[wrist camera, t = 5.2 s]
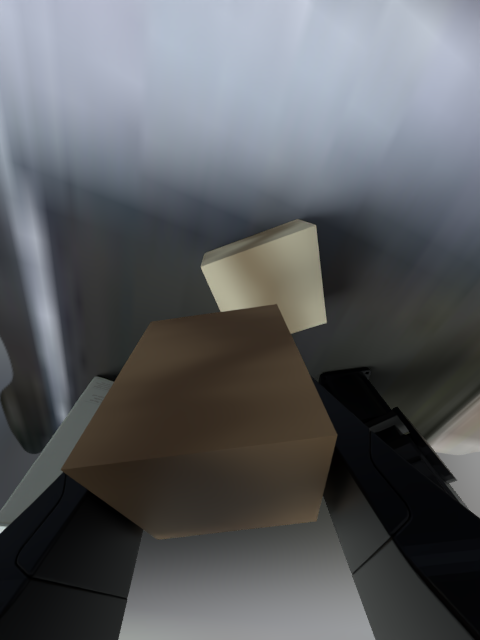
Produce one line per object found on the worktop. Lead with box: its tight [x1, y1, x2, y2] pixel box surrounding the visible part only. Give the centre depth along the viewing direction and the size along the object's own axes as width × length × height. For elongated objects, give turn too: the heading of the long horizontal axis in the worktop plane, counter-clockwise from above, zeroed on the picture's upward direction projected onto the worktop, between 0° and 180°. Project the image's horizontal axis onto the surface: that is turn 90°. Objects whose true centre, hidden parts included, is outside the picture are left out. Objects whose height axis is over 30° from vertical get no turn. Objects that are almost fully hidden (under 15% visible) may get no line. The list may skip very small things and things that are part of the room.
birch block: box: [201, 219, 327, 334], centre depth 17 cm, size 8×8×4 cm
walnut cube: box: [61, 304, 337, 540], centre depth 7 cm, size 5×5×5 cm
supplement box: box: [0, 376, 114, 533], centre depth 21 cm, size 7×7×13 cm
